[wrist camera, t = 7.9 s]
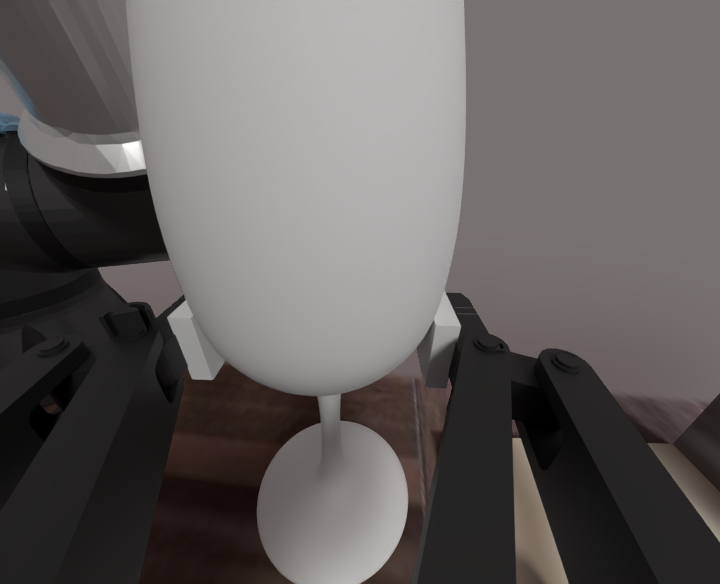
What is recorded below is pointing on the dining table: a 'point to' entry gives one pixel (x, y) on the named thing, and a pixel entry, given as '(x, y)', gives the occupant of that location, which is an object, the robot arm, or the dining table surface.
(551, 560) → the pegged display stand
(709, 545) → the robot arm
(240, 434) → the dining table surface
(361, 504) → the wineglass
